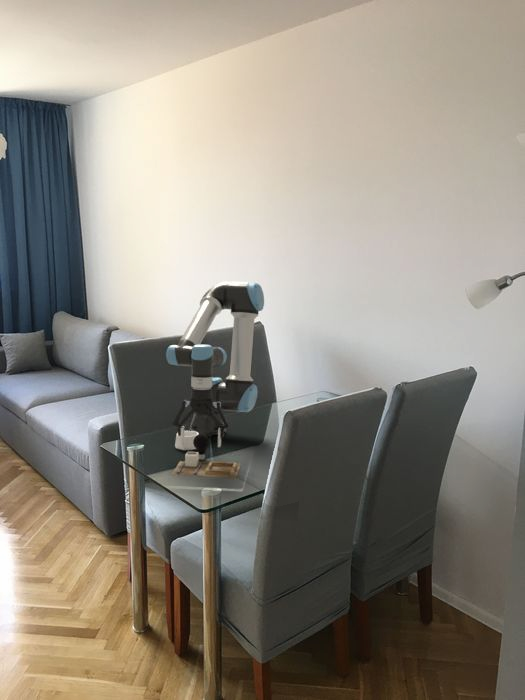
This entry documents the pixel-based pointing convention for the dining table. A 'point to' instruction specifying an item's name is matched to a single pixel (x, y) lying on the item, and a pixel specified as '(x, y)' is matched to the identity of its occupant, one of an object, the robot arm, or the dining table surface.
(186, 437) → the mug
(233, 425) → the dining table surface
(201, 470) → the wooden tray
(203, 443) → the light bulb
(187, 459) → the white block
